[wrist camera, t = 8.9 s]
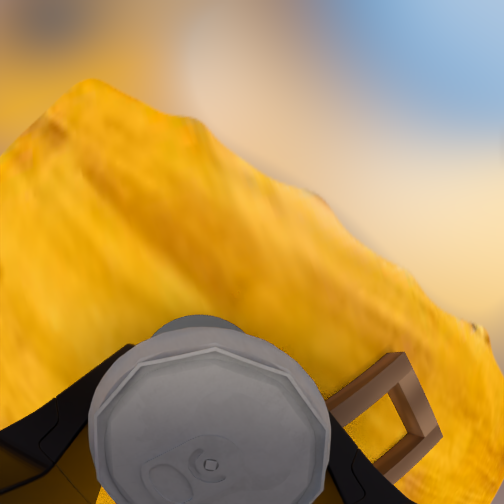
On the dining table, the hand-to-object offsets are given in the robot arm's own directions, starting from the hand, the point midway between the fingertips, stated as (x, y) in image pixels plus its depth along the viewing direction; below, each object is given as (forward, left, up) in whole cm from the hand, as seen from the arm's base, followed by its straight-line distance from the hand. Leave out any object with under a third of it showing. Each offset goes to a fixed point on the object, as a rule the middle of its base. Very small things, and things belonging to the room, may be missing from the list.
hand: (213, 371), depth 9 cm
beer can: (-1, +1, -7) cm, 7 cm away
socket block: (-12, -8, -12) cm, 19 cm away
